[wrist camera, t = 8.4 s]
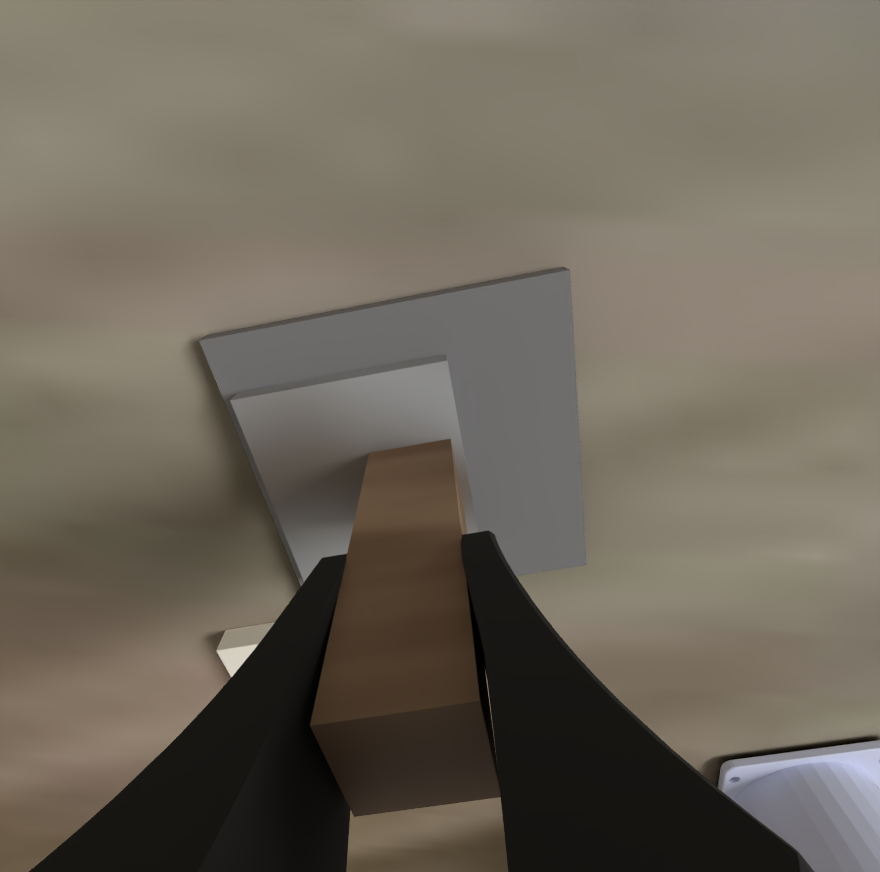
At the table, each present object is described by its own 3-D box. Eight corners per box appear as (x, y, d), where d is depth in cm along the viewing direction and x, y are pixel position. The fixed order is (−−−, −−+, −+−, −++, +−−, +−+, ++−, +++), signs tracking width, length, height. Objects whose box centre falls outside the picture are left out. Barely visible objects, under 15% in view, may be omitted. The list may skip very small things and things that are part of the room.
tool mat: (581, 553, 17) (586, 564, 17) (313, 596, 18) (309, 608, 17) (564, 266, 13) (569, 270, 12) (207, 335, 13) (198, 340, 13)
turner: (481, 549, 16) (533, 864, 9) (311, 577, 17) (212, 905, 9) (446, 353, 13) (477, 570, 5) (237, 392, 14) (-11, 648, 6)
